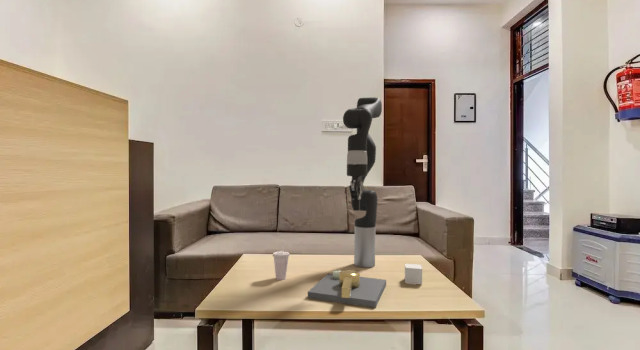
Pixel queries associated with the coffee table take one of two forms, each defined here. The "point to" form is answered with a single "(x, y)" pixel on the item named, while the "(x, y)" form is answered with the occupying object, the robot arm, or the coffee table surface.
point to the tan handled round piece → (348, 281)
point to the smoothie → (281, 263)
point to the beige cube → (413, 274)
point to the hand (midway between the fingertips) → (356, 210)
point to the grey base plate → (361, 295)
